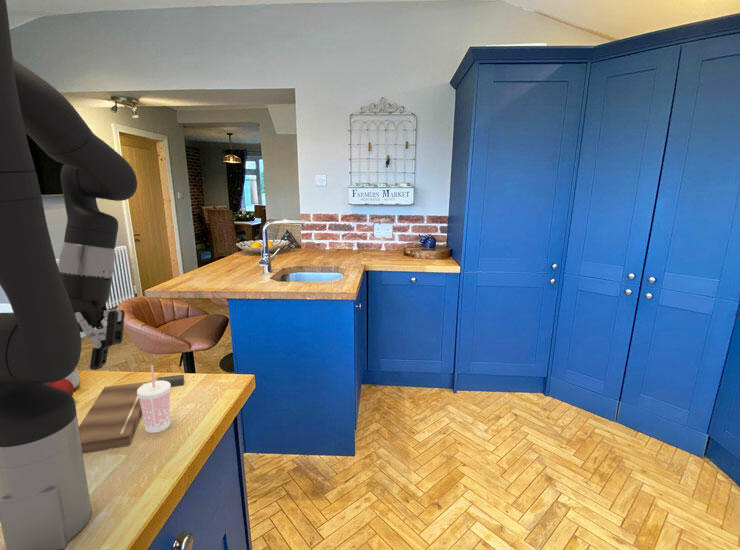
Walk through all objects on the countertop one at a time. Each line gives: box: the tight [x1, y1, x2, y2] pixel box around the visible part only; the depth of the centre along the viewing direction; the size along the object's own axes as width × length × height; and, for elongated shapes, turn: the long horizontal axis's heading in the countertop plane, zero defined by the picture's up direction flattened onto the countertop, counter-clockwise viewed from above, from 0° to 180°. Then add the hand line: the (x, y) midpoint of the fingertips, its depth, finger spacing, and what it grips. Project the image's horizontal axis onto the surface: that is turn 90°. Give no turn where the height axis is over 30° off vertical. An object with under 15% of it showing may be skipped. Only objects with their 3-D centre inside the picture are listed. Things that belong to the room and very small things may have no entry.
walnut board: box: [79, 374, 185, 453], centre depth 81 cm, size 24×17×2 cm
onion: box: [46, 378, 75, 396], centre depth 81 cm, size 6×6×8 cm
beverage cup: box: [137, 364, 172, 433], centre depth 75 cm, size 6×6×14 cm
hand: (71, 365), depth 61 cm, fingers open, 8 cm apart
